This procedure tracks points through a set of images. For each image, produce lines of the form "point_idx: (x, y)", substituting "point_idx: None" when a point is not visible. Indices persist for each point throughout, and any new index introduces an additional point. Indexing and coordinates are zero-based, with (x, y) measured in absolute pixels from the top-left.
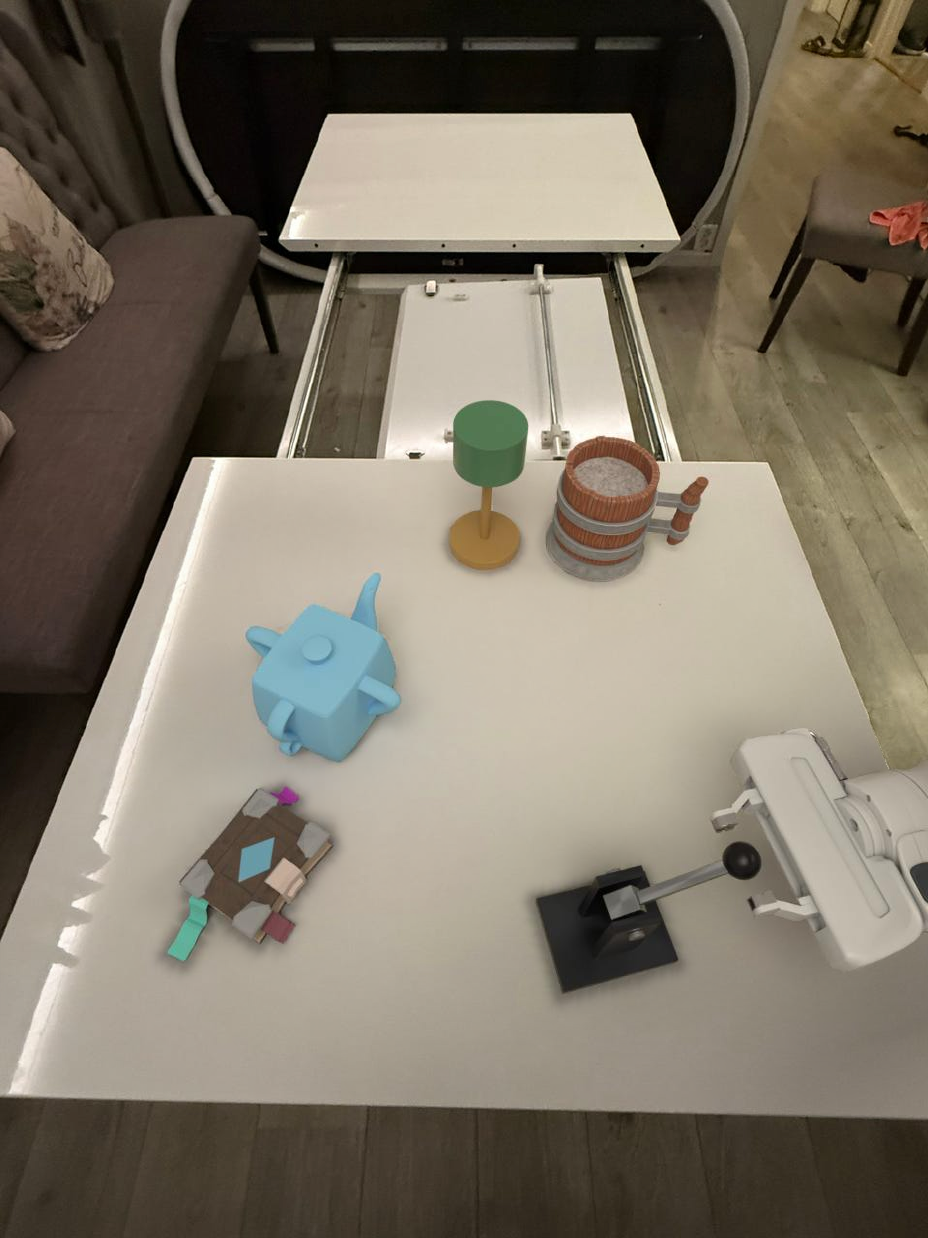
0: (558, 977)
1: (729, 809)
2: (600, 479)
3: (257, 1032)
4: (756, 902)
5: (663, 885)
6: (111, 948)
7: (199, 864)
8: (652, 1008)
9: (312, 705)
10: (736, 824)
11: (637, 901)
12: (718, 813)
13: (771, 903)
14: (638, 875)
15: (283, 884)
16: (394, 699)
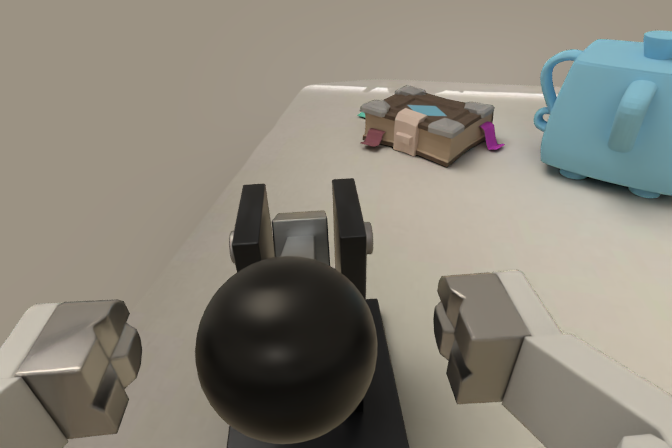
0: None
1: (544, 315)
2: None
3: (299, 140)
4: (85, 301)
5: (305, 246)
6: (371, 98)
7: (421, 89)
8: (171, 440)
9: (585, 55)
10: (466, 351)
11: (289, 220)
12: (510, 271)
13: (27, 345)
14: (343, 227)
15: (403, 116)
16: (633, 99)
